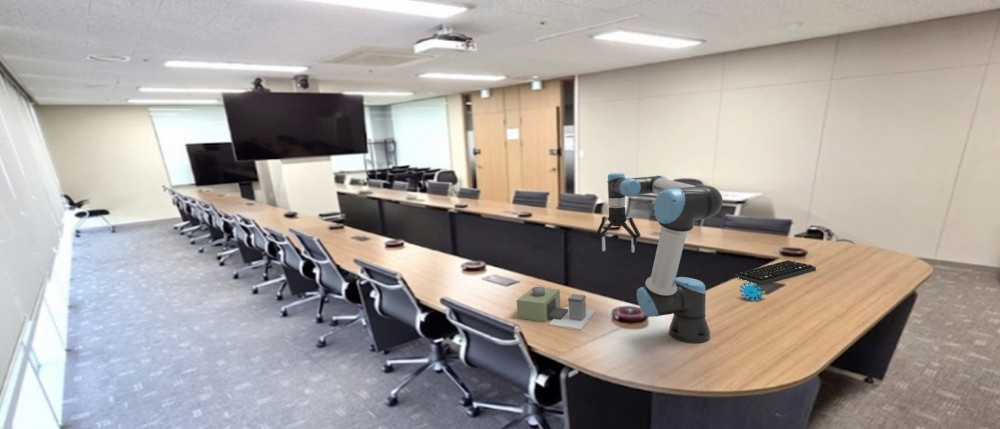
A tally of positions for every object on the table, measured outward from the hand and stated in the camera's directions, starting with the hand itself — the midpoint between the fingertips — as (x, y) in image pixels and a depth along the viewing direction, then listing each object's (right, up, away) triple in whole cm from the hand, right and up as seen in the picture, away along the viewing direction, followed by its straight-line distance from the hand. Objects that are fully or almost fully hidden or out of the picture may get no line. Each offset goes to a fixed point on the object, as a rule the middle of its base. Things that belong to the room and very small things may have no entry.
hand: (618, 251), depth 195 cm
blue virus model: (+66, -24, +5) cm, 71 cm away
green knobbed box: (-29, -31, +2) cm, 42 cm away
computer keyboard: (+100, -17, +38) cm, 108 cm away
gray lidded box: (-20, -30, -4) cm, 36 cm away
